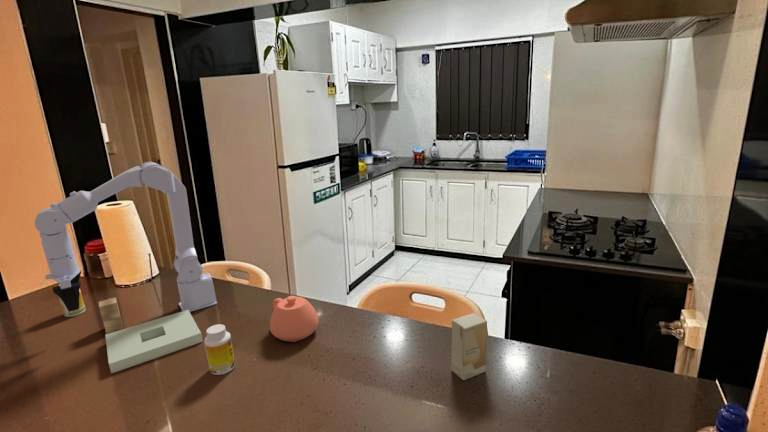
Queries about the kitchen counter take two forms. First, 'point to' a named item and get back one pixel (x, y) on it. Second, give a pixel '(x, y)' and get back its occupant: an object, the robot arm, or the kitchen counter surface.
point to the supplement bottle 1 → (75, 312)
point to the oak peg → (110, 315)
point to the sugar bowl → (293, 319)
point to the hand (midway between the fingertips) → (74, 304)
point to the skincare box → (469, 346)
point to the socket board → (132, 351)
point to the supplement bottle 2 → (219, 350)
